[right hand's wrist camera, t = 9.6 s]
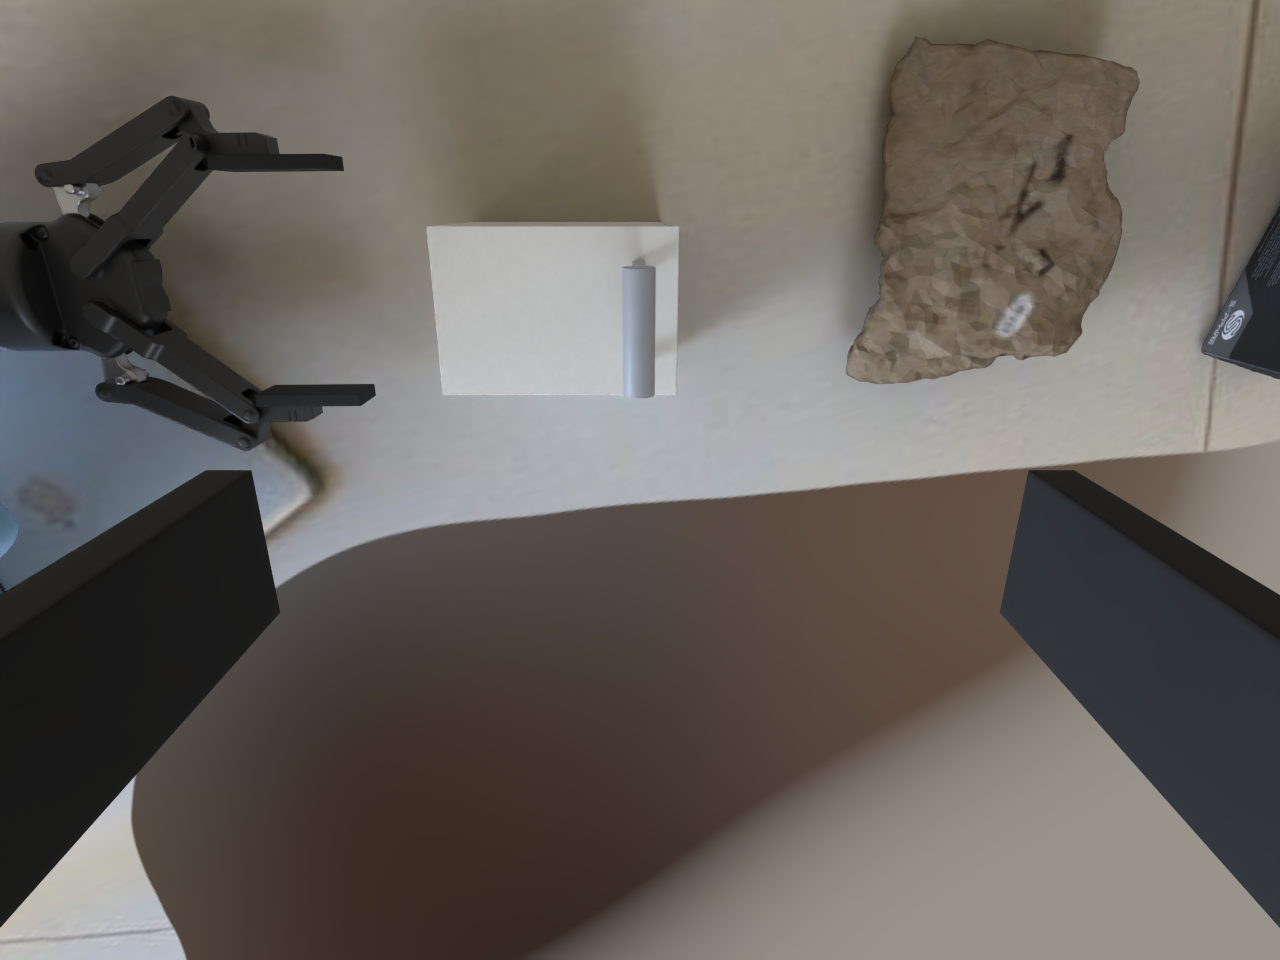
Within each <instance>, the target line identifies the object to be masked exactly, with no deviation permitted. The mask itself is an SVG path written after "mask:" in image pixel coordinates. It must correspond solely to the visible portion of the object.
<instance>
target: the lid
mask: <svg viewBox="0 0 1280 960" xmlns="http://www.w3.org/2000/svg"><path fill="white" fill-rule="evenodd" d="M426 229H427V239H428V249H429V259H430V269H431V279H432V289H433V300H434V310H435V320H436V330H437V340H438V350H439V360H440V371H441V381H442V391H443V395H624V396H625V397H628V398H634V399H644V398H650V397H653V396H654V395H676V394H677V340H678V285H679V231H680V227H679V226H426Z"/></svg>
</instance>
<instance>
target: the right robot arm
mask: <svg viewBox="0 0 1280 960" xmlns="http://www.w3.org/2000/svg"><path fill="white" fill-rule="evenodd" d="M279 613H280V610H279V605H278V600H277V595H276V590H275V585H274V580H273V575H272V570H271V565H270V560H269V555H268V550H267V545H266V540H265V536H264V531H263V526H262V521H261V516H260V511H259V506H258V501H257V496H256V491H255V486H254V481H253V476H252V471H251V470H206V471H204V472H202V473H201V474H199V475H198V476H196V477H194V478H193V479H191V480H189V481H188V482H186V483H184V484H183V485H181V486H179V487H178V488H176V489H174V490H173V491H171V492H169V493H168V494H166V495H165V496H163V497H161V498H160V499H158V500H156V501H155V502H153V503H151V504H150V505H148V506H146V507H145V508H143V509H141V510H140V511H138V512H136V513H135V514H133V515H132V516H130V517H128V518H127V519H125V520H123V521H122V522H120V523H118V524H117V525H115V526H113V527H112V528H110V529H108V530H107V531H105V532H103V533H102V534H100V535H99V536H97V537H95V538H94V539H92V540H90V541H89V542H87V543H85V544H84V545H82V546H80V547H79V548H77V549H75V550H74V551H72V552H70V553H69V554H67V555H66V556H64V557H62V558H61V559H59V560H57V561H56V562H54V563H52V564H51V565H49V566H47V567H46V568H44V569H42V570H41V571H39V572H37V573H36V574H34V575H33V576H31V577H29V578H28V579H26V580H24V581H23V582H21V583H19V584H18V585H16V586H14V587H13V588H11V589H9V590H8V591H6V592H5V593H3V594H1V595H0V927H1V926H2V925H3V924H4V923H5V922H6V921H7V919H8V918H9V917H10V916H11V915H12V914H13V913H14V912H15V910H16V909H17V908H18V907H19V906H20V905H21V904H22V903H23V901H24V900H25V899H26V898H27V897H28V896H29V895H30V894H31V892H32V891H33V890H34V889H35V888H36V887H37V886H38V885H39V883H40V882H41V881H42V880H43V879H44V878H45V877H46V876H47V874H48V873H49V872H50V871H51V870H52V869H53V868H54V867H55V865H56V864H57V863H58V862H59V861H60V860H61V859H62V858H63V856H64V855H65V854H66V853H67V852H68V851H69V850H70V849H71V847H72V846H73V845H74V844H75V843H76V842H77V841H78V840H79V838H80V837H81V836H82V835H83V834H84V833H85V832H86V831H87V829H88V828H89V827H90V826H91V825H92V824H93V823H94V822H95V820H96V819H97V818H98V817H99V816H100V815H101V814H102V813H103V811H104V810H105V809H106V808H107V807H108V806H109V805H110V803H111V802H112V801H113V800H114V799H115V798H116V797H117V796H118V794H119V793H120V792H121V791H122V790H123V789H124V788H125V787H126V785H127V784H128V783H129V782H130V781H131V780H132V779H133V778H134V776H135V775H136V774H137V773H138V772H139V771H140V770H141V769H142V767H143V766H144V765H145V764H146V763H147V762H148V761H149V760H150V758H151V757H152V756H153V755H154V754H155V753H156V752H157V751H158V749H159V748H160V747H161V746H162V745H163V744H164V743H165V742H166V740H167V739H168V738H169V737H170V736H171V735H172V734H173V733H174V731H175V730H176V729H177V728H178V727H179V726H180V725H181V724H182V722H183V721H184V720H185V719H186V718H187V717H188V716H189V715H190V713H191V712H192V711H193V710H194V709H195V708H196V707H197V706H198V704H199V703H200V702H201V701H202V700H203V699H204V698H205V697H206V695H207V694H208V693H209V692H210V691H211V690H212V689H213V688H214V686H215V685H216V684H217V683H218V682H219V681H220V680H221V679H222V677H223V676H224V675H225V674H226V673H227V672H228V671H229V669H230V668H231V667H232V666H233V665H234V664H235V663H236V662H237V660H238V659H239V658H240V657H241V656H242V655H243V654H244V653H245V651H246V650H247V649H248V648H249V647H250V646H251V645H252V644H253V642H254V641H255V640H256V639H257V638H258V637H259V636H260V635H261V633H262V632H263V631H264V630H265V629H266V628H267V627H268V626H269V624H270V623H271V622H272V621H273V620H274V619H275V618H276V617H277V615H278V614H279ZM1000 613H1001V614H1002V615H1003V617H1004V618H1005V619H1006V620H1007V621H1008V622H1009V623H1010V624H1011V626H1012V627H1013V628H1014V629H1015V630H1016V631H1017V632H1018V633H1019V635H1020V636H1021V637H1022V638H1023V639H1024V640H1025V641H1026V642H1027V644H1028V645H1029V646H1030V647H1031V648H1032V649H1033V650H1034V651H1035V653H1036V654H1037V655H1038V656H1039V657H1040V658H1041V659H1042V660H1043V662H1044V663H1045V664H1046V665H1047V666H1048V667H1049V668H1050V669H1051V671H1052V672H1053V673H1054V674H1055V675H1056V676H1057V677H1058V679H1059V680H1060V681H1061V682H1062V683H1063V684H1064V685H1065V686H1066V688H1067V689H1068V690H1069V691H1070V692H1071V693H1072V694H1073V695H1074V697H1075V698H1076V699H1077V700H1078V701H1079V702H1080V703H1081V704H1082V706H1083V707H1084V708H1085V709H1086V710H1087V711H1088V712H1089V713H1090V715H1091V716H1092V717H1093V718H1094V719H1095V720H1096V721H1097V722H1098V724H1099V725H1100V726H1101V727H1102V728H1103V729H1104V730H1105V731H1106V733H1107V734H1108V735H1109V736H1110V737H1111V738H1112V739H1113V740H1114V742H1115V743H1116V744H1117V745H1118V746H1119V747H1120V748H1121V749H1122V751H1123V752H1124V753H1125V754H1126V755H1127V756H1128V757H1129V758H1130V760H1131V761H1132V762H1133V763H1134V764H1135V765H1136V766H1137V767H1138V769H1139V770H1140V771H1141V772H1142V773H1143V774H1144V775H1145V776H1146V778H1147V779H1148V780H1149V781H1150V782H1151V783H1152V784H1153V785H1154V787H1155V788H1156V789H1157V790H1158V791H1159V792H1160V793H1161V794H1162V796H1163V797H1164V798H1165V799H1166V800H1167V801H1168V802H1169V803H1170V805H1171V806H1172V807H1173V808H1174V809H1175V810H1176V811H1177V812H1178V814H1179V815H1180V816H1181V817H1182V818H1183V819H1184V820H1185V822H1186V823H1187V824H1188V825H1189V826H1190V827H1191V828H1192V829H1193V830H1194V832H1195V833H1196V834H1197V835H1198V836H1199V837H1200V838H1201V839H1202V841H1203V842H1204V843H1205V844H1206V845H1207V846H1208V847H1209V849H1210V850H1211V851H1212V852H1213V853H1214V854H1215V855H1216V856H1217V858H1218V859H1219V860H1220V861H1221V862H1222V863H1223V864H1224V865H1225V866H1226V868H1227V869H1228V870H1229V871H1230V872H1231V873H1232V874H1233V876H1234V877H1235V878H1236V879H1237V880H1238V881H1239V882H1240V883H1241V885H1242V886H1243V887H1244V888H1245V889H1246V890H1247V891H1248V892H1249V894H1250V895H1251V896H1252V897H1253V898H1254V899H1255V900H1256V901H1257V903H1258V904H1259V905H1260V906H1261V907H1262V908H1263V909H1264V910H1265V912H1266V913H1267V914H1268V915H1269V916H1270V917H1271V918H1272V919H1273V921H1274V922H1275V923H1276V924H1277V925H1278V926H1279V927H1280V595H1279V594H1277V593H1275V592H1274V591H1272V590H1271V589H1269V588H1267V587H1266V586H1264V585H1262V584H1261V583H1259V582H1257V581H1256V580H1254V579H1252V578H1251V577H1249V576H1247V575H1246V574H1244V573H1242V572H1241V571H1239V570H1238V569H1236V568H1234V567H1233V566H1231V565H1229V564H1228V563H1226V562H1224V561H1223V560H1221V559H1219V558H1218V557H1216V556H1214V555H1213V554H1211V553H1210V552H1208V551H1206V550H1205V549H1203V548H1201V547H1200V546H1198V545H1196V544H1195V543H1193V542H1191V541H1190V540H1188V539H1186V538H1185V537H1183V536H1181V535H1180V534H1178V533H1177V532H1175V531H1173V530H1172V529H1170V528H1168V527H1167V526H1165V525H1163V524H1162V523H1160V522H1158V521H1157V520H1155V519H1153V518H1152V517H1150V516H1148V515H1147V514H1145V513H1144V512H1142V511H1140V510H1139V509H1137V508H1135V507H1134V506H1132V505H1130V504H1129V503H1127V502H1125V501H1124V500H1122V499H1120V498H1119V497H1117V496H1115V495H1114V494H1112V493H1111V492H1109V491H1107V490H1106V489H1104V488H1102V487H1101V486H1099V485H1097V484H1096V483H1094V482H1092V481H1091V480H1089V479H1087V478H1086V477H1084V476H1082V475H1081V474H1079V473H1078V472H1076V471H1074V470H1029V471H1028V476H1027V481H1026V486H1025V491H1024V496H1023V501H1022V506H1021V511H1020V516H1019V521H1018V526H1017V531H1016V535H1015V540H1014V545H1013V550H1012V555H1011V560H1010V565H1009V570H1008V575H1007V580H1006V585H1005V590H1004V595H1003V600H1002V605H1001V610H1000Z"/></svg>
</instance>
